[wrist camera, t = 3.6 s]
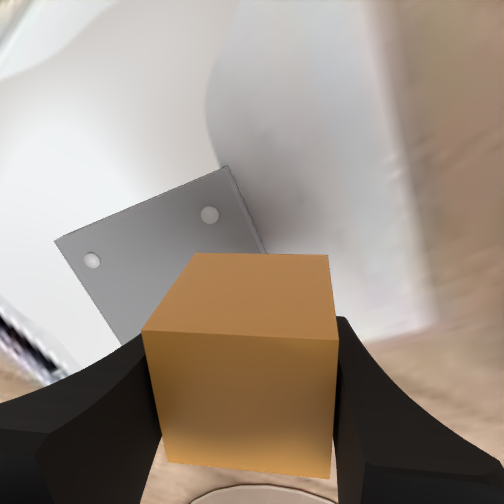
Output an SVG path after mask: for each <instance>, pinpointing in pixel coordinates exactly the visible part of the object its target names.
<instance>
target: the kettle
mask: <svg viewBox="0 0 504 504" xmlns="http://www.w3.org/2000/svg"><path fill="white" fill-rule="evenodd" d="M191 504H335V503H333V502H332V501H330V500H327V499H324V498H322V497H319V496H316V495H313V494H310V493H307V492H304V491H301V490H297V489H291V488H285V487H279V486H273V485H238V486H234V487H229V488H224V489H219V490H215V491H213V492H211V493H209V494H206V495H204V496H202V497H200V498H198V499H196V500H194V501H193V502H192V503H191Z"/></svg>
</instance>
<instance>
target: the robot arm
mask: <svg viewBox="0 0 504 504" xmlns="http://www.w3.org/2000/svg"><path fill="white" fill-rule="evenodd" d="M336 322H337V329H338V337H339V347H338V362H337V377H336V392H335V408H334V423H333V441H334V447H335V456H336V468H337V484H338V502H339V504H504V468H503V466H502V465H501V463H500V461H499V460H497V459H496V458H494V457H492V456H491V455H489V454H488V453H486V452H484V451H483V450H481V449H479V448H478V447H476V446H475V445H473V444H471V443H470V442H468V441H467V440H465V439H463V438H462V437H460V436H459V435H457V434H456V433H455V432H453V431H452V430H450V429H449V428H448V427H446V426H445V425H443V424H442V423H441V422H439V421H438V420H437V419H435V418H434V417H433V416H431V415H430V414H429V413H428V412H426V411H425V410H424V409H423V408H422V407H420V406H419V405H418V404H417V403H416V402H414V401H413V400H412V399H411V398H410V397H409V396H408V395H406V394H405V393H404V392H403V391H402V390H401V389H400V388H399V387H398V386H397V385H396V384H395V383H394V382H393V381H392V380H391V379H390V377H389V376H388V375H387V374H386V373H385V372H384V371H383V370H382V368H381V367H380V366H379V365H378V364H377V362H376V361H375V360H374V359H373V357H372V356H371V355H370V354H369V352H368V351H367V349H366V348H365V347H364V345H363V344H362V343H361V341H360V340H359V338H358V337H357V335H356V334H355V332H354V331H353V329H352V327H351V326H350V324H349V322H348V320H347V319H346V318H345V317H341V316H336ZM161 437H162V432H161V427H160V422H159V417H158V412H157V408H156V403H155V398H154V393H153V388H152V383H151V378H150V373H149V368H148V363H147V358H146V353H145V348H144V343H143V338H142V333H140V334H139V335H137V336H136V337H135V338H133V339H132V340H130V341H129V342H127V343H126V344H124V345H123V346H121V347H120V348H118V349H117V350H115V351H114V352H112V353H111V354H109V355H108V356H106V357H104V358H102V359H101V360H99V361H97V362H96V363H94V364H92V365H90V366H88V367H86V368H85V369H83V370H81V371H79V372H77V373H74V374H72V375H70V376H68V377H66V378H64V379H62V380H60V381H58V382H55V383H53V384H51V385H49V386H46V387H44V388H41V389H39V390H36V391H34V392H31V393H29V394H26V395H23V396H21V397H18V398H15V399H12V400H9V401H6V402H3V403H0V504H140V501H141V498H142V494H143V491H144V488H145V485H146V482H147V478H148V475H149V472H150V469H151V466H152V463H153V460H154V457H155V454H156V451H157V448H158V445H159V442H160V440H161Z"/></svg>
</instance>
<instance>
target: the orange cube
mask: <svg viewBox="0 0 504 504" xmlns="http://www.w3.org/2000/svg"><path fill="white" fill-rule="evenodd" d="M141 333H142V338H143V343H144V348H145V353H146V358H147V363H148V368H149V373H150V378H151V383H152V388H153V393H154V398H155V403H156V408H157V412H158V417H159V422H160V427H161V432H162V437H163V442H164V447H165V452H166V457H167V462H173V463H182V464H192V465H201V466H210V467H220V468H229V469H238V470H247V471H257V472H266V473H275V474H285V475H294V476H303V477H313V478H322V479H330V468H331V453H332V438H333V423H334V408H335V392H336V377H337V362H338V347H339V337H338V329H337V322H336V314H335V306H334V299H333V291H332V284H331V276H330V268H329V261H328V255H302V254H244V253H195V254H194V256H193V257H192V259H191V260H190V261H189V263H188V264H187V266H186V267H185V268H184V270H183V271H182V273H181V274H180V276H179V277H178V278H177V280H176V281H175V283H174V284H173V285H172V287H171V288H170V290H169V291H168V292H167V294H166V295H165V297H164V298H163V300H162V301H161V302H160V304H159V305H158V307H157V308H156V309H155V311H154V312H153V314H152V315H151V316H150V318H149V319H148V321H147V322H146V324H145V325H144V326H143V328H142V329H141Z"/></svg>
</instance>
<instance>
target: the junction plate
mask: <svg viewBox="0 0 504 504" xmlns="http://www.w3.org/2000/svg"><path fill="white" fill-rule="evenodd" d="M54 242H55V244H56V245H57V247H58V249H59V250H60V252H61V253H62V255H63V256H64V258H65V259H66V261H67V262H68V264H69V265H70V267H71V268H72V270H73V271H74V273H75V274H76V276H77V278H78V279H79V281H80V282H81V284H82V285H83V287H84V288H85V290H86V291H87V293H88V294H89V296H90V297H91V299H92V300H93V302H94V304H95V305H96V307H97V308H98V310H99V311H100V313H101V314H102V316H103V317H104V319H105V320H106V322H107V323H108V325H109V327H110V328H111V329H112V331H113V333H114V334H115V336H116V337H117V339H118V340H119V342H120V343H121V345H122V346H123V345H124V344H126V343H127V342H129V341H130V340H132V339H133V338H135V337H136V336H137V335H139V334H140V333H141V329H142V328H143V326H144V325H145V324H146V322H147V321H148V319H149V318H150V316H151V315H152V314H153V312H154V311H155V309H156V308H157V307H158V305H159V304H160V302H161V301H162V300H163V298H164V297H165V295H166V294H167V292H168V291H169V290H170V288H171V287H172V285H173V284H174V283H175V281H176V280H177V278H178V277H179V276H180V274H181V273H182V271H183V270H184V268H185V267H186V266H187V264H188V263H189V261H190V260H191V259H192V257H193V256H194V254H195V253H244V254H266V251H265V249H264V247H263V245H262V242H261V240H260V238H259V235H258V233H257V231H256V229H255V226H254V224H253V222H252V220H251V217H250V215H249V213H248V211H247V208H246V206H245V204H244V201H243V199H242V197H241V195H240V192H239V190H238V188H237V186H236V183H235V181H234V179H233V176H232V174H231V172H230V170H229V167H228V166H226V167H224V168H221V169H219V170H217V171H214V172H212V173H210V174H207V175H205V176H203V177H200V178H198V179H195V180H193V181H191V182H188V183H186V184H184V185H181V186H179V187H177V188H174V189H172V190H169V191H167V192H165V193H162V194H160V195H158V196H155V197H153V198H151V199H148V200H146V201H144V202H141V203H139V204H136V205H135V206H132V207H129V208H127V209H125V210H123V211H120V212H118V213H115V214H113V215H111V216H108V217H106V218H104V219H101V220H99V221H96V222H94V223H92V224H89V225H87V226H85V227H82V228H80V229H78V230H75V231H73V232H71V233H68V234H66V235H63V236H62V237H60V238H58V239H57V240H55V241H54Z"/></svg>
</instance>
